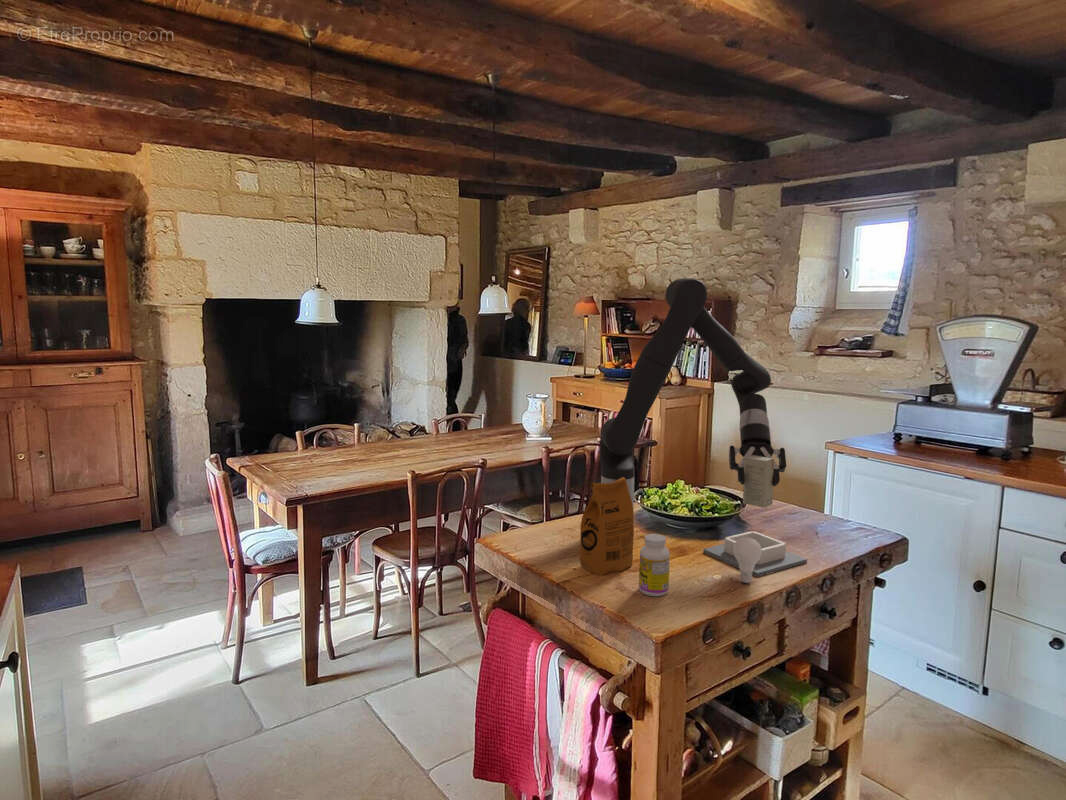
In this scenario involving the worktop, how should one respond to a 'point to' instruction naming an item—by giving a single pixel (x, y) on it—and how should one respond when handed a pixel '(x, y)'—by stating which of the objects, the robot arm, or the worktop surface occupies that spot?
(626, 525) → the coffee package
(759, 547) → the lightbulb
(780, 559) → the holder
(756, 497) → the skincare box
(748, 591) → the worktop surface
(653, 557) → the supplement bottle
